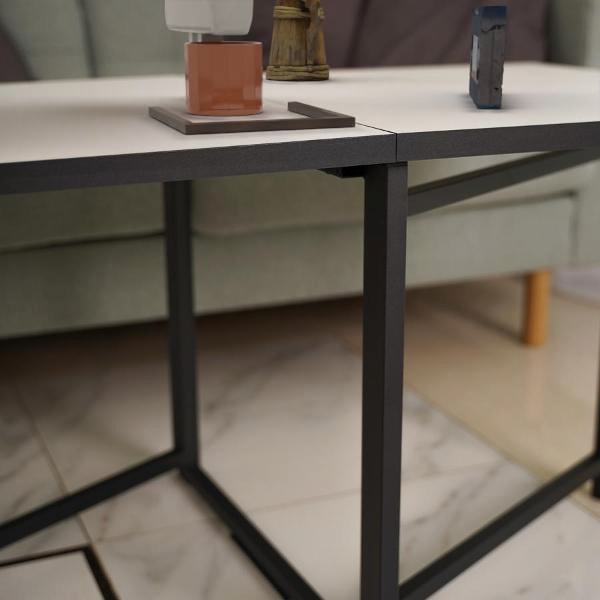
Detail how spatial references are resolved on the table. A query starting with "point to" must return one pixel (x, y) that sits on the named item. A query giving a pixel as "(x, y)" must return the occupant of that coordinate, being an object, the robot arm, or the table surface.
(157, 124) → the table surface
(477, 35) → the vhs cassette tape
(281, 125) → the frame
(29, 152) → the table surface
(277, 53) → the wooden mug
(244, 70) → the cup
